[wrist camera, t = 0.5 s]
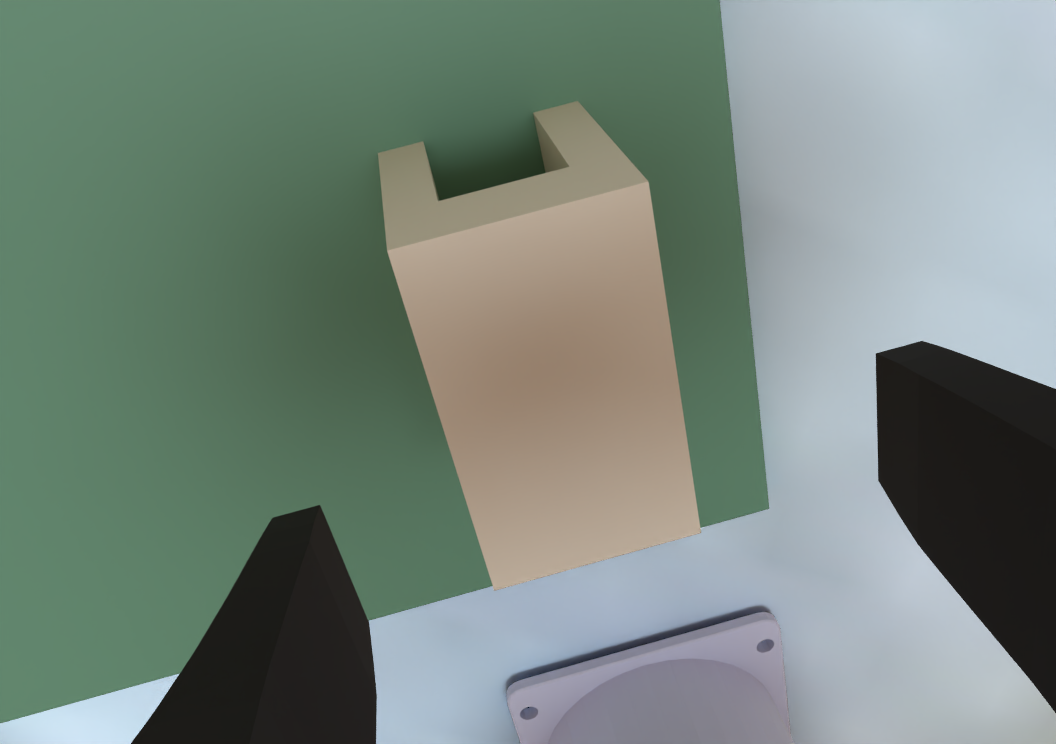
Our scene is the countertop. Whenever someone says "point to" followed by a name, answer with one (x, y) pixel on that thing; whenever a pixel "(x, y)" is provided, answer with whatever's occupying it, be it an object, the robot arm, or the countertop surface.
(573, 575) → the countertop surface
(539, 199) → the beige u-shaped channel block
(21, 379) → the header board
